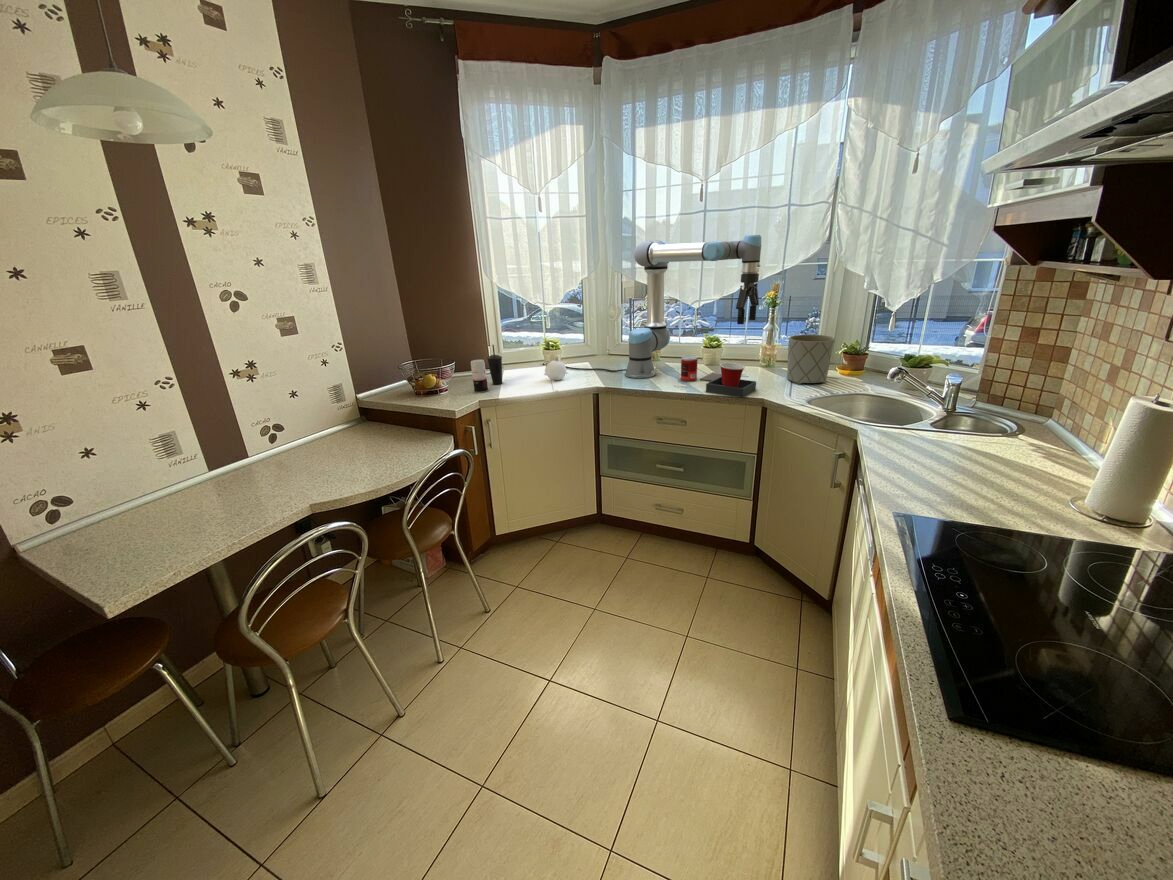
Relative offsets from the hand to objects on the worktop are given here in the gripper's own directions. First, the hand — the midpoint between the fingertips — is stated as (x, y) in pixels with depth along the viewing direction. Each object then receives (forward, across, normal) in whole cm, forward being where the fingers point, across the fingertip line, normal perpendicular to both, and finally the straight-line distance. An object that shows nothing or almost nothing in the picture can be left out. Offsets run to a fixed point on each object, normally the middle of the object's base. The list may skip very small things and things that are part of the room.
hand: (746, 322), depth 217 cm
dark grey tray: (+28, -18, -2) cm, 33 cm away
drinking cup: (+28, -63, +105) cm, 125 cm away
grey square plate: (+28, 0, +12) cm, 30 cm away
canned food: (+28, -9, +24) cm, 38 cm away
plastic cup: (+28, -18, -2) cm, 33 cm away
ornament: (+28, -42, +82) cm, 96 cm away
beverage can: (+28, -76, +101) cm, 130 cm away
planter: (+28, +16, -25) cm, 41 cm away
